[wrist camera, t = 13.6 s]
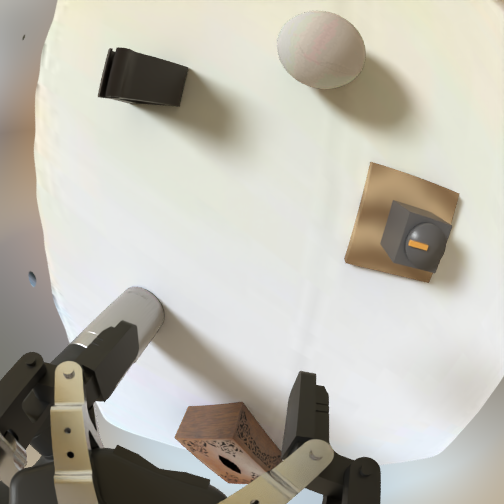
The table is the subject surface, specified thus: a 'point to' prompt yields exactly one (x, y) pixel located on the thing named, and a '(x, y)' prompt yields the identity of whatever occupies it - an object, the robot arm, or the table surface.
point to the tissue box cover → (228, 441)
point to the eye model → (321, 49)
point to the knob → (415, 237)
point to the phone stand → (141, 79)
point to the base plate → (377, 211)
